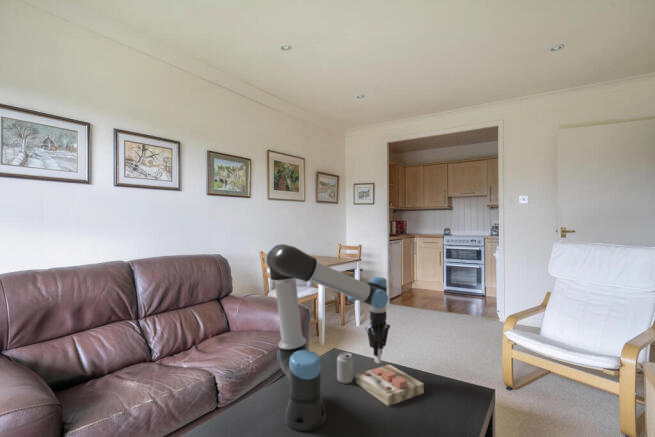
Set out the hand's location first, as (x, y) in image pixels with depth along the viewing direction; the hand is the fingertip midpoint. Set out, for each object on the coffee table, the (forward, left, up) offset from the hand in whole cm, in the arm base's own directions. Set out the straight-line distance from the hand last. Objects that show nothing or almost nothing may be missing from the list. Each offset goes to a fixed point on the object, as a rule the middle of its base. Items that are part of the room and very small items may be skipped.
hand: (377, 362), depth 150 cm
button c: (+1, 0, -7) cm, 7 cm away
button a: (+1, -14, -6) cm, 15 cm away
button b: (+1, -7, -6) cm, 9 cm away
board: (+1, -7, -9) cm, 11 cm away
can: (-12, +8, -9) cm, 18 cm away
